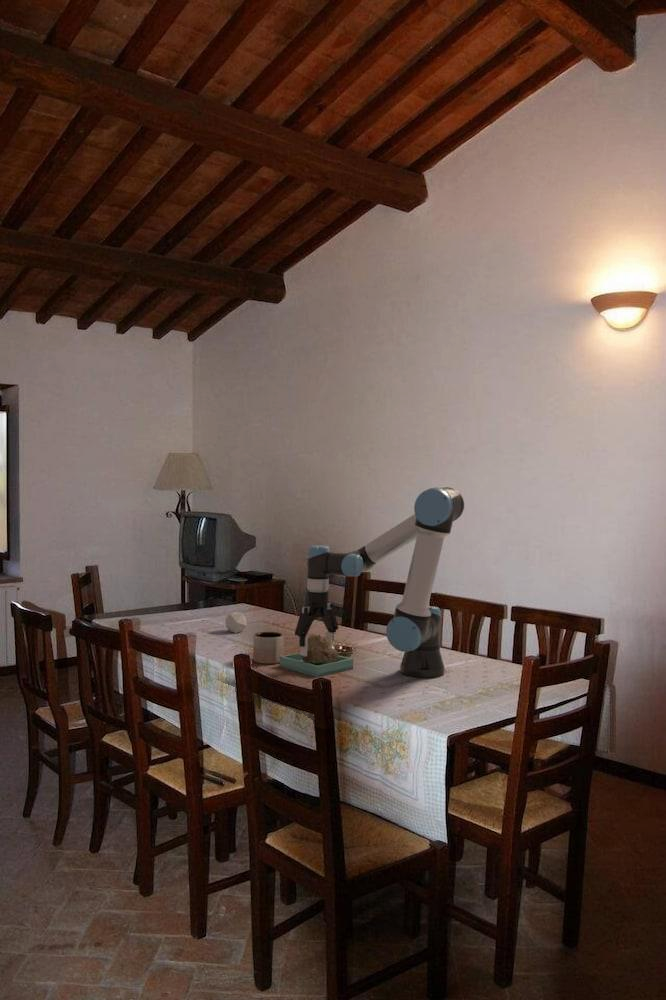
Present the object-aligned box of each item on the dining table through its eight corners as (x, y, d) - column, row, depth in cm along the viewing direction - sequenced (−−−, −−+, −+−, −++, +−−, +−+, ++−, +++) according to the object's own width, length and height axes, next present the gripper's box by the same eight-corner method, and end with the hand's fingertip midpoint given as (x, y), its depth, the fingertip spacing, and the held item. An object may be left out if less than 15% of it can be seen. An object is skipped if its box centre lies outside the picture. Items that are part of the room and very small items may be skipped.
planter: (271, 666, 290) (272, 639, 290) (246, 661, 296) (247, 635, 296) (289, 660, 300) (290, 633, 299) (265, 656, 305) (265, 630, 305)
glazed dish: (353, 669, 289) (353, 659, 289) (317, 677, 277) (317, 666, 277) (315, 658, 302) (315, 649, 302) (279, 666, 290) (279, 656, 290)
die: (250, 634, 346) (250, 612, 351) (239, 626, 339) (238, 604, 345) (233, 639, 349) (233, 618, 354) (221, 632, 342) (221, 610, 348)
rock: (306, 651, 281) (327, 633, 286) (288, 647, 292) (309, 630, 296) (322, 677, 284) (343, 659, 288) (304, 672, 294) (324, 654, 299)
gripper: (334, 586, 299) (333, 646, 300) (284, 592, 283) (283, 656, 284) (349, 588, 294) (348, 650, 295) (299, 595, 277) (298, 660, 278)
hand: (316, 653), depth 289 cm, fingers open, 11 cm apart
